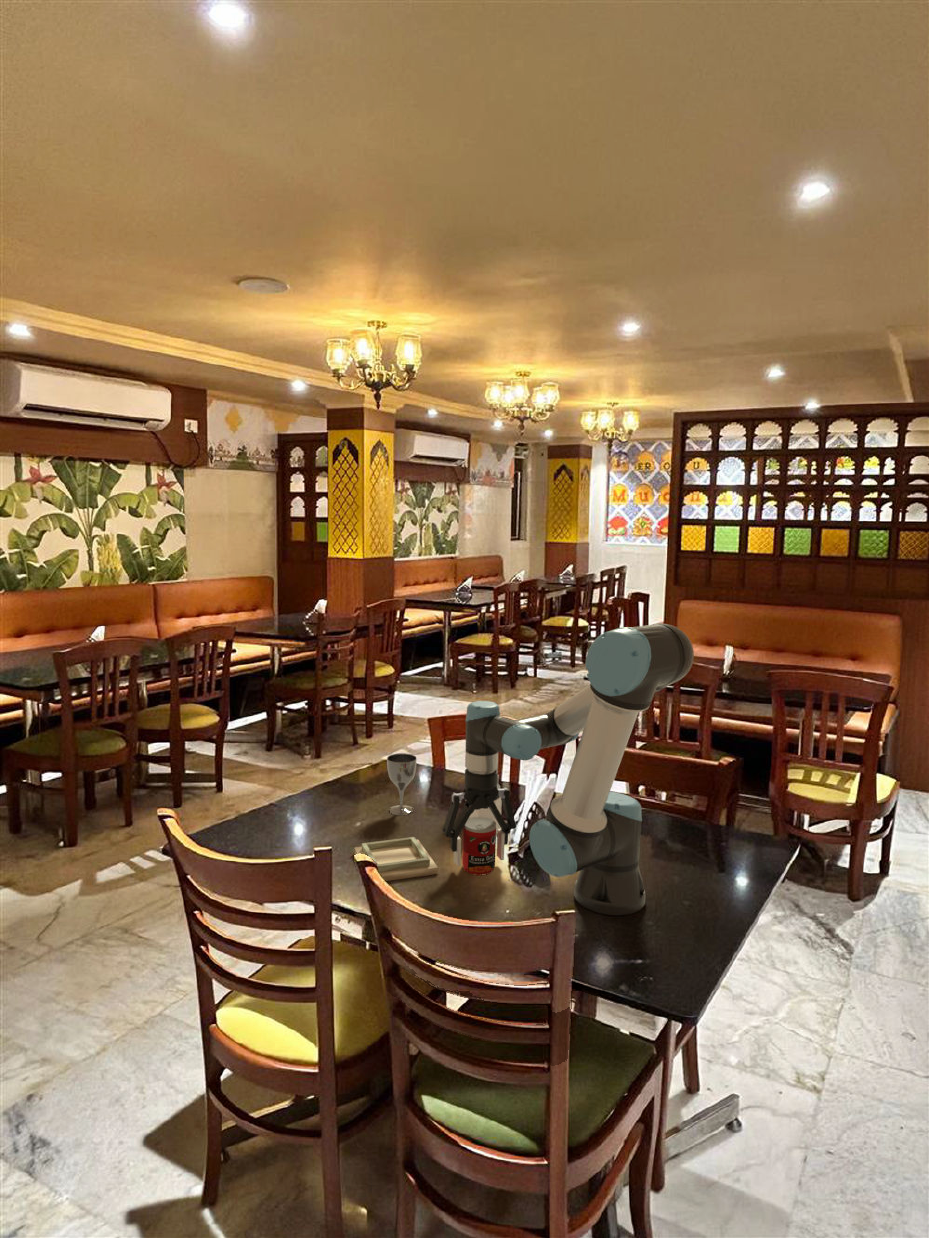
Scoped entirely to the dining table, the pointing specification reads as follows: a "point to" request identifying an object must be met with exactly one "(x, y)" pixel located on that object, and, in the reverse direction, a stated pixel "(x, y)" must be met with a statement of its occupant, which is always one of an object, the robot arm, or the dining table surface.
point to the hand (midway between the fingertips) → (478, 860)
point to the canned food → (479, 845)
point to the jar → (487, 812)
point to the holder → (399, 858)
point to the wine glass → (401, 777)
